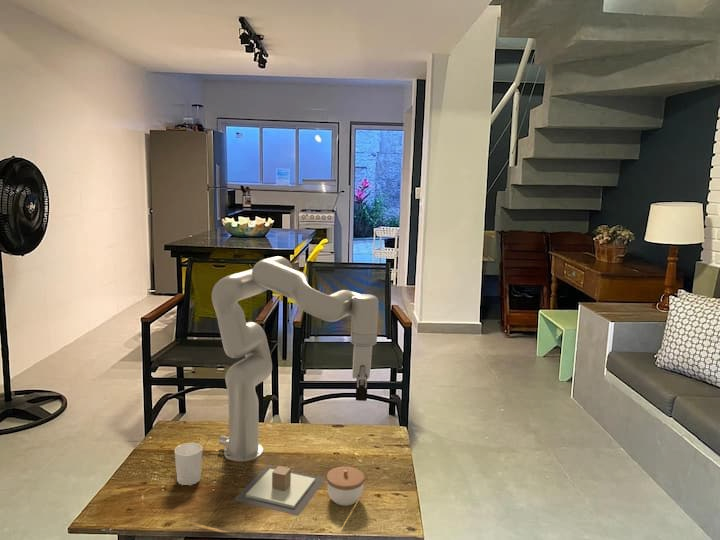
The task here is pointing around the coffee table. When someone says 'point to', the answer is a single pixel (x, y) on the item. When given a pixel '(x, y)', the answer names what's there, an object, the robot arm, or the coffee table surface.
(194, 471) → the white cup
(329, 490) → the lidded jar
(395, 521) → the coffee table surface
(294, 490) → the lid sheet
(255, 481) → the mat
